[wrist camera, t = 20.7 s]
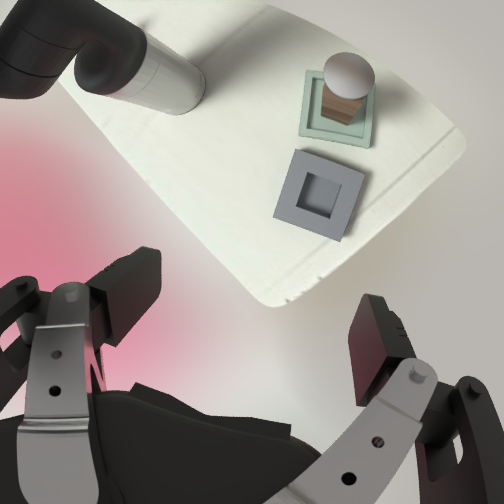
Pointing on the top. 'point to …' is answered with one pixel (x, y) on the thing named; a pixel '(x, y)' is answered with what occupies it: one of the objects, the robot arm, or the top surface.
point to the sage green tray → (329, 129)
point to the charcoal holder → (318, 195)
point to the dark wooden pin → (345, 86)
